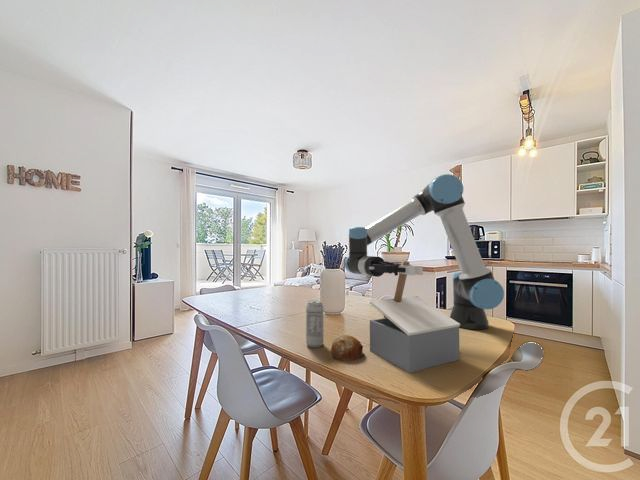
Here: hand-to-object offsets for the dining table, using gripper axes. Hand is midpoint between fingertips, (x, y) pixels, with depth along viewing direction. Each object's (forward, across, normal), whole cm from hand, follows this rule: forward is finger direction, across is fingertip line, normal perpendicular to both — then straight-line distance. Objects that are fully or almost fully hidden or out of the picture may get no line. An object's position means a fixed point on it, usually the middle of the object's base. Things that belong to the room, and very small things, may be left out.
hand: (417, 270), depth 87 cm
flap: (-2, 0, -14) cm, 14 cm away
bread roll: (-12, +18, -27) cm, 35 cm away
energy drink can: (-24, +24, -27) cm, 44 cm away
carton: (-2, 0, -27) cm, 27 cm away
